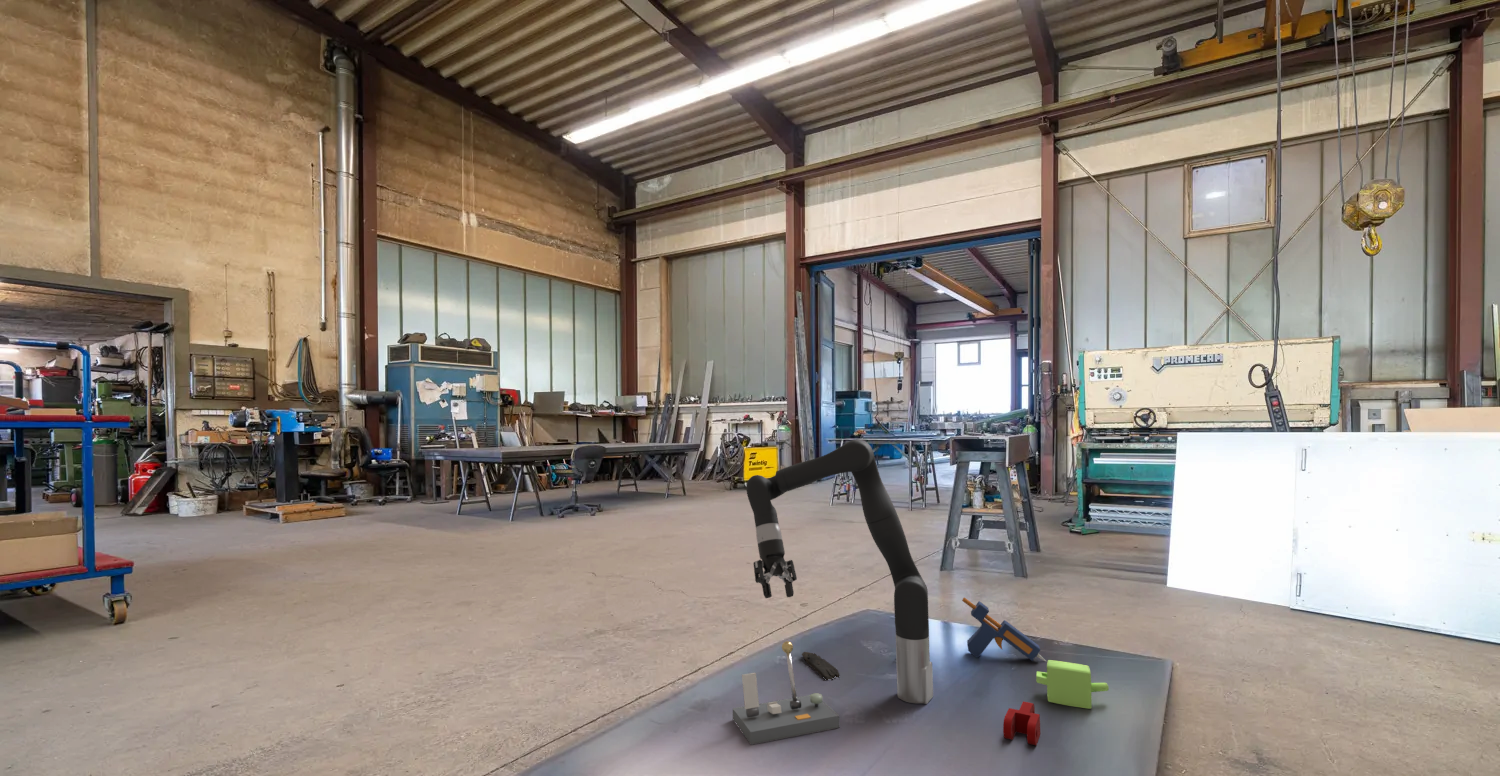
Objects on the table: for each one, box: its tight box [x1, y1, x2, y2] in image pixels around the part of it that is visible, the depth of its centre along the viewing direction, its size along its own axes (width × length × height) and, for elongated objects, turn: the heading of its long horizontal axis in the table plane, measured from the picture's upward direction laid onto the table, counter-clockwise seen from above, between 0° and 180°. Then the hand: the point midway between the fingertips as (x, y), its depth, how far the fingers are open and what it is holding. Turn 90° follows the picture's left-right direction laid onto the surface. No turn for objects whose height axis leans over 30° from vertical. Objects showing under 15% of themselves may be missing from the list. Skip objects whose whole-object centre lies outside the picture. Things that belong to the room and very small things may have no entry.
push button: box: [809, 692, 823, 707], centre depth 168 cm, size 3×3×3 cm
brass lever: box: [781, 640, 801, 709], centre depth 169 cm, size 3×3×16 cm
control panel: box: [732, 694, 840, 745], centre depth 165 cm, size 14×24×3 cm, turn 110°
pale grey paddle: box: [741, 672, 760, 717], centre depth 163 cm, size 2×4×10 cm, turn 110°
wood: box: [801, 651, 841, 681], centre depth 203 cm, size 22×7×3 cm, turn 18°
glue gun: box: [961, 597, 1047, 662], centre depth 210 cm, size 6×31×15 cm
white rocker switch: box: [767, 701, 781, 714], centre depth 164 cm, size 4×2×2 cm, turn 20°
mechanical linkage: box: [1002, 701, 1041, 746], centre depth 160 cm, size 16×7×5 cm, turn 148°
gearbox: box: [1035, 659, 1109, 709], centre depth 177 cm, size 18×10×10 cm, turn 65°
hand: (779, 597), depth 183 cm, fingers open, 8 cm apart
